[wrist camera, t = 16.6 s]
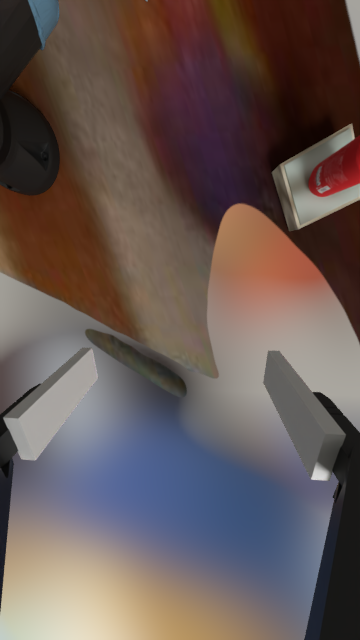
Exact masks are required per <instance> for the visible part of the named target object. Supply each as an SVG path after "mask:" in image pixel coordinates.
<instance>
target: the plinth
mask: <svg viewBox="0 0 360 640" xmlns="http://www.w3.org/2000/svg"><path fill="white" fill-rule="evenodd" d="M354 139H355V138H354V132H353V127H352V124H350V125H348V126H346V127H345V128H343V129H341V130H339V131H338V132H336V133H334V134H332V135H331V136H329V137H327V138H325V139H324V140H322V141H320V142H318V143H316V144H315V145H313V146H311V147H309V148H308V149H306V150H304V151H302V152H301V153H299V154H297V155H295V156H294V157H292V158H290V159H288V160H287V161H285V162H283V163H281V164H280V165H279V166H278V167H277V168H276V169H275V170H274V171H273V172H272V175H273V178H274V182H275V185H276V188H277V192H278V195H279V199H280V202H281V205H282V209H283V212H284V215H285V219H286V222H287V226H288V229H289V231H292V230H297V229H300V228H302V227H304V226H306V225H308V224H310V223H312V222H314V221H316V220H318V219H320V218H323V217H325V216H327V215H329V214H331V213H333V212H335V211H337V210H339V209H341V208H343V207H345V206H347V205H349V204H351V203H353V202H356V201H358V200H360V184H357V185H355V186H352V187H350V188H347V189H345V190H342V191H339V192H337V193H334V194H332V195H329V196H326V197H318V196H316V195H313V194H312V193H311V192H310V190H309V187H308V181H309V178H310V176H311V173H312V171H313V170H314V168H315V167H316V166H317V165H318V164H319V163H320V162H322V161H323V160H325V159H326V158H328V157H329V156H331V155H332V154H333V153H335V152H336V151H338V150H339V149H341V148H342V147H344V146H345V145H346V144H348V143H349V142H351V141H352V140H354Z"/></svg>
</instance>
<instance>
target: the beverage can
mask: <svg viewBox="0 0 360 640" xmlns="http://www.w3.org/2000/svg"><path fill="white" fill-rule="evenodd" d="M357 184H360V136H358V137H357V138H355V139H354V140H352V141H351V142H349V143H348V144H346V145H345V146H344V147H342V148H341V149H339V150H338V151H336V152H335V153H333V154H332V155H331V156H329V157H328V158H326V159H325V160H323V161H322V162H320V163H319V164H318V165H317V166H316V167H315V168H314V170H313V171H312V173H311V176H310V178H309V181H308V187H309V190H310V192H311V193H312V194H313V195H316V196H318V197H326V196H329V195H332V194H334V193H337V192H339V191H342V190H345V189H347V188H350V187H352V186H355V185H357Z"/></svg>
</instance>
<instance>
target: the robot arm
mask: <svg viewBox="0 0 360 640" xmlns="http://www.w3.org/2000/svg"><path fill="white" fill-rule="evenodd" d="M58 19H59V3H58V0H0V185H2V186H3V187H5V188H7V189H9V190H11V191H14V192H17V193H20V194H24V195H38V194H41V193H43V192H45V191H46V190H48V189H49V188H50V187H51V185H52V184H53V183H54V181H55V179H56V177H57V174H58V170H59V159H60V158H59V148H58V144H57V140H56V137H55V134H54V132H53V130H52V128H51V126H50V124H49V123H48V121H47V120H46V118H45V117H44V116H43V115H42V113H41V112H40V111H39V110H38V109H37V108H35V107H34V106H33V105H32V104H31V103H30V102H28V101H27V100H26V99H25V98H23V97H22V96H20V95H18V94H17V93H15V92H12V91H9V88H10V87H11V86H12V84H13V83H14V82H15V80H16V79H17V78H18V76H19V75H20V74H21V72H22V71H23V70H24V68H25V67H26V66H27V64H28V63H29V62H30V61H31V59H32V58H33V57H34V55H35V54H36V53H37V51H38V50H39V49H41V50H43V49H44V48H45V41H46V39H47V38H48V36H49V35H50V33H51V32H52V30H53V29H54V27H55V26H56V24H57V22H58ZM97 379H98V374H97V369H96V365H95V360H94V355H93V350H92V348H82V349H81V350H80V351H78V352H77V353H76V354H75V355H74V356H73V357H72V358H70V359H69V360H68V361H67V362H66V363H65V364H64V365H62V366H61V367H60V368H59V369H58V370H57V371H56V372H54V373H53V374H52V375H51V376H50V377H49V378H48V379H46V380H45V381H44V382H43V383H42V384H38V385H37V386H35V387H33V388H31V389H30V390H29V391H27V392H26V393H25V394H24V395H23V397H20V398H19V399H18V400H17V401H16V402H14V403H13V404H12V405H11V406H10V407H9V408H7V409H6V410H5V411H4V412H3V413H2V414H0V608H1V598H2V587H3V576H4V565H5V554H6V542H7V531H8V520H9V509H10V498H11V487H12V476H13V465H14V463H13V459H12V457H13V456H14V455H15V454H16V452H17V451H18V453H19V455H20V457H21V459H24V460H36V459H37V458H38V457H39V455H40V454H41V452H42V451H43V450H44V449H45V447H46V446H47V445H48V443H49V442H50V441H51V439H52V438H53V437H54V435H55V434H56V433H57V432H58V430H59V429H60V428H61V426H62V425H63V423H64V422H65V421H66V420H67V418H68V417H69V416H70V414H71V413H72V412H73V410H74V409H75V408H76V406H77V405H78V404H79V402H80V401H81V400H82V398H83V397H84V396H85V395H86V393H87V392H88V390H89V389H90V388H91V387H92V385H93V384H94V383H95V381H96V380H97ZM264 385H265V387H266V389H267V391H268V393H269V395H270V397H271V399H272V401H273V403H274V405H275V407H276V409H277V411H278V413H279V415H280V417H281V420H282V421H283V424H284V426H285V428H286V430H287V432H288V434H289V436H290V438H291V440H292V442H293V444H294V446H295V448H296V450H297V452H298V454H299V456H300V458H301V460H302V462H303V464H304V466H305V468H306V470H307V472H308V474H309V476H310V478H311V479H312V480H327V481H329V480H330V477H331V475H332V472H333V473H334V474H335V476H336V478H337V479H338V481H339V483H338V485H337V488H336V490H335V493H334V495H333V498H334V503H333V508H332V513H331V517H330V522H329V527H328V532H327V536H326V541H325V545H324V550H323V555H322V560H321V564H320V569H319V573H318V578H317V583H316V588H315V593H314V597H313V602H312V606H311V611H310V616H309V621H308V625H307V630H306V635H305V639H304V640H360V433H359V431H358V430H357V429H356V428H355V427H354V426H353V425H352V423H351V422H350V421H349V420H348V419H347V418H346V417H345V416H344V415H343V413H342V412H341V411H340V410H339V409H338V408H337V407H336V405H335V404H334V403H333V402H332V401H331V400H330V399H329V398H328V397H326V396H325V395H323V394H322V393H320V392H311V390H310V389H309V388H308V386H307V385H306V384H305V383H304V381H303V380H302V379H301V378H300V376H299V375H298V374H297V373H296V371H295V370H294V369H293V368H292V366H291V365H290V364H289V363H288V361H287V360H286V359H285V358H284V356H283V355H282V354H281V353H280V351H268V355H267V362H266V368H265V375H264Z"/></svg>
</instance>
